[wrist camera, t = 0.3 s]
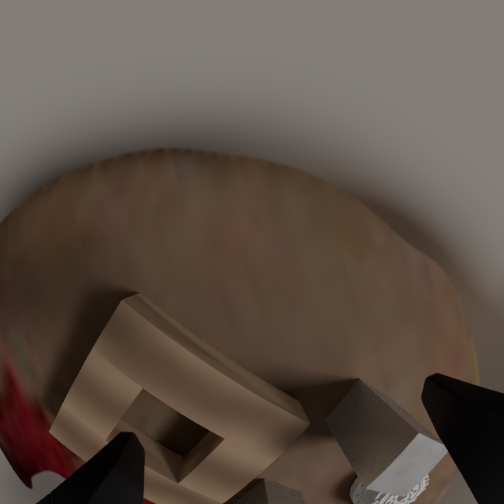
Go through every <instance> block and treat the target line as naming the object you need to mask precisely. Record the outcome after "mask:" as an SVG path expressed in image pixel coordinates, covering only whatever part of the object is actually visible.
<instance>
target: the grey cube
mask: <svg viewBox="0 0 504 504" xmlns="http://www.w3.org/2000/svg"><path fill="white" fill-rule="evenodd" d="M235 504H305V502H304V499H303V496H302V493H301V491H298V490H295V489H292V488H289V487H286V486H283V485H281V484H278V483H275V482H272V481H270V480H267V479H263V480H262V481H260V482H259V483H258V484H257V485H256V486H254V487H253V488H252V489H251V490H250V491H248V492H247V493H246V494H244V495H243V496H242V497H241V498H239V499H238V500H237V501H235Z"/></svg>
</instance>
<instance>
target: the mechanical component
mask: <svg viewBox="0 0 504 504" xmlns="http://www.w3.org/2000/svg"><path fill="white" fill-rule="evenodd" d="M428 481H429V478H428V475H426V476H425V477H424V478H423V479H422V480H421V481H420V482H419V483H418V484H417V485H416V486H415V487H414V488H413V489H412V490H411V491H410V492H409V493H408V494H407V495H406V496H405V497H403V496H397V495H392V494H387V493H383V492H378V491H374V490H370V489H366V488H365V487H364V485H363V484H362V482H361V480H360V479H359V477H357V478H356V479H355V481H354V483H353V484H352V486H351V489H350V498H351V500H352V502H353V503H354V504H409V503H411V502H412V501H415V500H416V499H417V498H416V497H417V496H418V495H419V494H420V493H421V492H422V491H424V490H425V489H426V488H425V486H427V485H428Z"/></svg>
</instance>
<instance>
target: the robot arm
mask: <svg viewBox="0 0 504 504" xmlns="http://www.w3.org/2000/svg"><path fill="white" fill-rule="evenodd" d="M421 399H422V402H423V405H424V407H425V409H426V411H427V413H428V415H429V417H430V419H431V421H432V423H433V425H434V428H435V430H436V432H437V434H438V436H439V437H440V439H441V441H442V442H443V444H444V446H445V447H446V449H447V451H448V452H449V454H450V456H451V457H452V459H453V461H454V462H455V464H456V466H457V467H458V469H459V471H460V472H461V474H462V476H463V478H464V479H465V481H466V483H467V485H468V486H469V488H470V490H471V492H472V493H473V495H474V497H475V499H476V501H477V502H478V504H504V393H500V392H497V391H494V390H490V389H487V388H483V387H480V386H477V385H474V384H471V383H467V382H464V381H461V380H458V379H455V378H452V377H449V376H446V375H443V374H440V373H435V374H433V375H430V376H428V377H427V378H426V379H425V383H424V387H423V391H422V395H421ZM144 473H145V450H144V447H143V446H142V444H141V442H140V441H139V439H138V437H137V436H136V434H135V433H134V432H126V431H122V432H120V433H119V434H118V435H116V436H115V437H114V438H113V439H112V440H111V441H110V442H109V443H108V444H106V445H105V446H104V447H103V448H102V449H101V450H100V451H98V452H97V453H96V454H95V455H94V456H93V457H92V458H91V459H89V460H88V461H87V462H86V463H85V464H84V465H82V466H81V467H80V468H79V469H78V470H77V471H75V472H74V473H73V474H72V475H71V476H70V477H68V478H67V479H66V480H65V481H64V482H62V483H61V484H60V485H59V486H58V487H57V488H56V489H54V490H53V491H52V492H51V493H50V494H48V495H46V496H45V497H44V498H43V499H41V500H40V501H39V502H38V503H36V504H143V496H144Z"/></svg>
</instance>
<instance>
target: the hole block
mask: <svg viewBox="0 0 504 504" xmlns="http://www.w3.org/2000/svg"><path fill="white" fill-rule="evenodd" d="M142 388H144V389H145V390H146V391H148V392H149V393H151V394H152V395H153V396H155V397H156V398H158V399H159V400H161V401H162V402H164V403H165V404H167V405H168V406H170V407H171V408H173V409H175V410H176V411H178V412H179V413H181V414H182V415H184V416H186V417H187V418H189V419H191V420H192V421H194V422H196V423H197V424H199V425H201V426H203V427H204V428H206V429H208V430H210V431H209V432H208V433H207V434H206V435H205V436H204V437H203V438H202V439H201V440H200V441H199V442H198V443H197V444H196V445H195V447H194V448H193V449H192V450H191V451H190V452H189V453H188V454H187V455H186V456H185V457H182V456H180V455H178V454H177V453H175V452H173V451H171V450H170V449H168V448H166V447H164V446H163V445H161V444H159V443H158V442H156V441H155V440H153V439H151V438H150V437H148V436H147V435H145V434H143V433H142V432H140V431H139V430H137V429H136V428H134V427H133V426H131V425H130V424H129V423H127V422H126V421H124V420H123V419H121V418H122V416H123V415H124V413H125V412H126V411H127V409H128V408H129V406H130V405H131V404H132V402H133V401H134V399H135V398H136V397H137V395H138V394H139V392H140V391H141V390H142ZM309 425H310V422H309V420H308V418H307V416H306V414H305V412H304V410H303V408H302V405H301V403H300V401H299V400H297V399H295V398H293V397H292V396H290V395H288V394H286V393H285V392H283V391H281V390H280V389H278V388H276V387H274V386H273V385H271V384H269V383H268V382H266V381H264V380H263V379H261V378H260V377H258V376H256V375H255V374H253V373H252V372H250V371H248V370H247V369H245V368H244V367H242V366H241V365H239V364H237V363H236V362H234V361H233V360H231V359H230V358H228V357H227V356H225V355H224V354H222V353H221V352H219V351H218V350H216V349H215V348H213V347H212V346H211V345H209V344H208V343H206V342H205V341H203V340H202V339H201V338H199V337H198V336H196V335H195V334H193V333H192V332H191V331H189V330H188V329H187V328H185V327H184V326H182V325H181V324H180V323H178V322H177V321H176V320H174V319H173V318H172V317H170V316H169V315H168V314H166V313H165V312H164V311H163V310H161V309H160V308H159V307H157V306H156V305H155V304H154V303H152V302H151V301H150V300H148V299H147V298H146V297H145V296H143V295H142V294H141V293H138V294H135V295H133V296H130V297H128V298H125V299H123V300H122V301H121V302H120V304H119V305H118V307H117V308H116V310H115V312H114V313H113V315H112V316H111V318H110V320H109V321H108V323H107V325H106V326H105V328H104V330H103V331H102V333H101V335H100V336H99V338H98V340H97V341H96V343H95V345H94V347H93V348H92V350H91V352H90V354H89V355H88V357H87V359H86V361H85V362H84V364H83V366H82V368H81V370H80V371H79V373H78V375H77V377H76V379H75V381H74V383H73V385H72V386H71V388H70V390H69V392H68V394H67V396H66V398H65V400H64V402H63V404H62V406H61V408H60V410H59V412H58V414H57V416H56V418H55V420H54V423H53V425H52V427H51V429H50V431H49V432H50V433H51V434H52V435H53V436H54V437H55V438H57V439H58V440H59V441H60V442H61V443H63V444H64V445H65V446H66V447H67V448H69V449H70V450H71V451H73V452H74V453H75V454H76V455H78V456H79V457H80V458H82V459H83V460H85V461H86V462H87V461H88V460H89V459H91V458H92V457H93V456H94V455H95V454H96V453H97V452H98V451H100V450H101V449H102V448H103V447H104V446H105V445H106V444H108V443H109V442H110V441H111V440H112V439H113V438H114V437H115V436H116V435H118V434H119V433H120V432H122V431H126V432H134V433H135V434H136V436H137V437H138V439H139V441H140V442H141V444H142V446H143V447H144V450H145V473H144V496H143V497H144V498H146V499H148V500H150V501H152V502H154V503H156V504H223V503H224V502H226V501H227V500H228V499H230V498H231V497H232V496H234V495H235V494H236V493H237V492H239V491H240V490H241V489H242V488H243V487H245V486H246V485H247V484H248V483H250V482H251V481H252V480H253V479H254V478H255V477H257V476H258V475H259V474H260V473H261V472H262V471H263V470H265V469H266V468H267V467H268V466H269V465H270V464H271V463H272V462H273V461H274V460H275V459H277V458H278V457H279V456H280V455H281V454H282V453H283V452H284V451H285V450H286V449H287V448H288V447H289V446H290V445H291V444H292V443H293V442H294V441H295V440H296V439H297V438H298V437H299V436H300V435H301V434H302V433H303V432H304V431H305V430H306V429H307V428H308V426H309Z"/></svg>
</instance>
